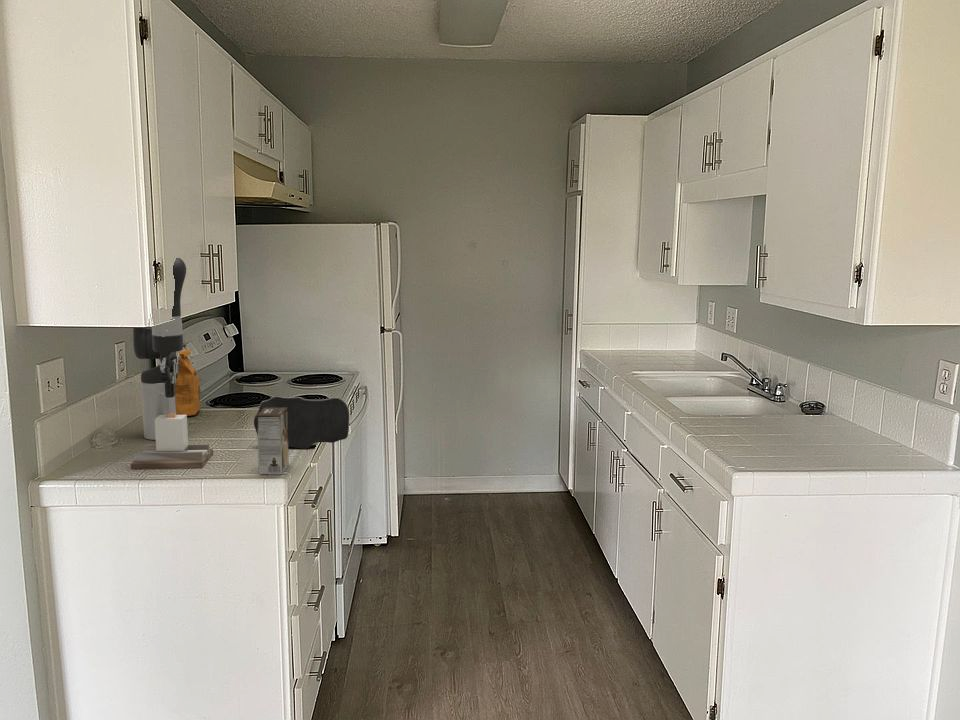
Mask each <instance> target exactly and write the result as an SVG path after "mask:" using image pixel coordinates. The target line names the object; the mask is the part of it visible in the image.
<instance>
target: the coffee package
mask: <svg viewBox="0 0 960 720" xmlns="http://www.w3.org/2000/svg"><path fill="white" fill-rule="evenodd" d="M178 353H179V355H178V356H177V357H178V359H180V364H179V371H178V378H177V379H176V382H175V407H176V415H187V417H190V416H196V414H197V413H198V412H199V411H200V408H201V405H202V404H201V382H200V377H199V374H198V371H197V370H196V368H195V367H194V365H193V364H191V360H190V358H189V357H188V356H189V355H191V353H192V351H191V350H190V349H188V348H187V349H183V350H181V351H178Z"/></svg>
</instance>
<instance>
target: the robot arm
mask: <svg viewBox="0 0 960 720" xmlns="http://www.w3.org/2000/svg"><path fill="white" fill-rule="evenodd" d="M173 275H174V279H175V291H174V306H173V309H172V317H171V318H172V319H170V320H173V319H175V320H173V321H170V322H166V323H163V324H160V325H156V326H152V325H151V327H150V328H149V327H147V328H132V337H133V351H134V355H135V357H136V358H137V359H139V360H158V365H157V366H154V367H152V368H150V369H146V370H144V371H142V372H141V373H140V383H141V384H140V385H141V402H142V404H141V405H142V420H143V421H142V422H143V423H142V425H143V437H144V439H146V440H152V441H154V440H155V441H156V436H155V419H156V418H157V417H158V416H159V415H166V414H167V413H176V407H175V382H176V379H177V378H178V371H179V364H180V359H178V357H179V356H177V355H178V354H177V353H179V352H182V351H184V335H183V334H184V333H183V321H182V313H181V312H182V311H181V297H182V291H183V285H184V284H185V279H186V277H187V276H186V275H187V266H186V263H185V261H184V260H183V259H182V258H181V257H178V258H176V260H175V262H174V265H173Z"/></svg>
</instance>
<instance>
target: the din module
mask: <svg viewBox="0 0 960 720" xmlns="http://www.w3.org/2000/svg"><path fill="white" fill-rule="evenodd" d="M188 435H189V434H188V416H187V415H176V413H167V414H166V415H159V416H158V417H157V418H156V419H155V436H156V440H155V444H156V452H187V451H188V444H189V436H188Z"/></svg>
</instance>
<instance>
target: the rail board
mask: <svg viewBox="0 0 960 720" xmlns="http://www.w3.org/2000/svg"><path fill="white" fill-rule="evenodd" d="M212 456H214V449H213V448H211V449H210V443H188V451H187V452H156V443H155V444H144V445H143V450H142V451H141V452H140V451H139V452H138V451H137V452H135V453H134V457H135V459H134V460H133V461H132V462H131V463H130V470H161V469H162V470H166V469H167V470H169V469H171V470H173V469H175V470H176V469H180V470H181V469H203V468H204V466H205V465H206V464H207V463H208V461H209V460H210V459H211V458H212ZM210 457H211V458H210ZM206 462H207V463H206Z"/></svg>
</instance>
